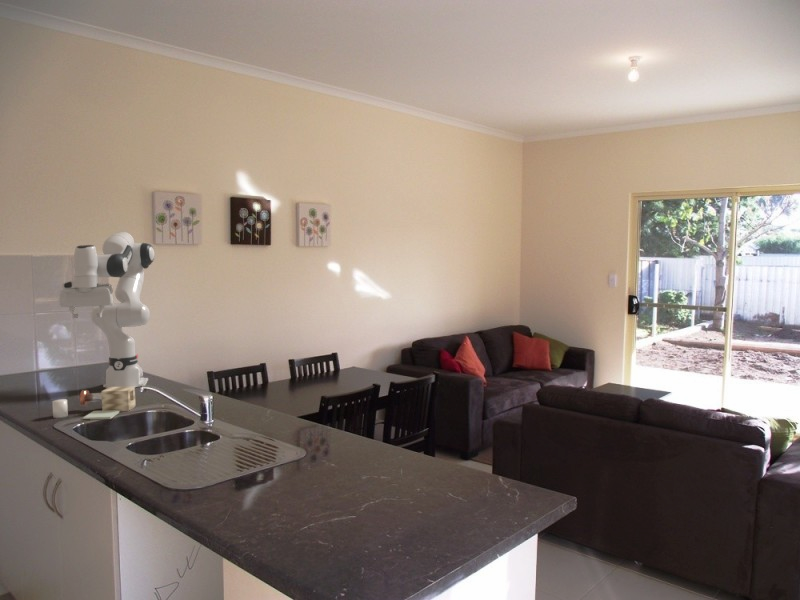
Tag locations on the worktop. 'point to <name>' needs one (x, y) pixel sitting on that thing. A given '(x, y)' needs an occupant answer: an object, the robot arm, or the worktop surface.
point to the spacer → (60, 408)
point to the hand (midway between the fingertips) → (87, 317)
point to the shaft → (89, 397)
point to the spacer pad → (102, 414)
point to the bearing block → (118, 398)
